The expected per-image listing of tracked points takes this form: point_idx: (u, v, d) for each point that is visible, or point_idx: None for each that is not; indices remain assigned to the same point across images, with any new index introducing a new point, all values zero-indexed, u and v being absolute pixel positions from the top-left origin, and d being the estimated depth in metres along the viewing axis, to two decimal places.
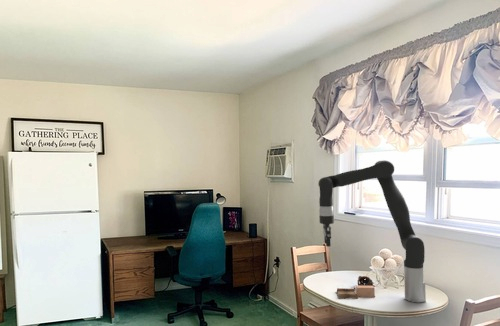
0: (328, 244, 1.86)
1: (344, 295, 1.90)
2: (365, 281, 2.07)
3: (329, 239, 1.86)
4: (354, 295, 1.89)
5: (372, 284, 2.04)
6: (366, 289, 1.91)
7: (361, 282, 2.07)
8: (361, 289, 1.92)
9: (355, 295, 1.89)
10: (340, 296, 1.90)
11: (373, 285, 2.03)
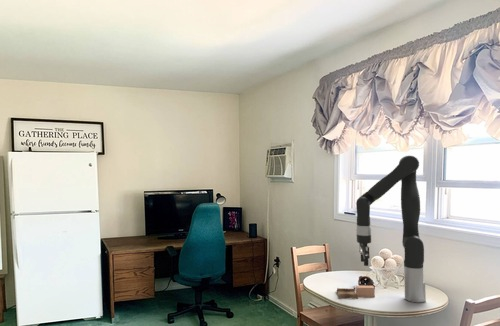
0: (366, 263, 1.88)
1: (344, 295, 1.90)
2: (366, 281, 2.07)
3: (367, 259, 1.88)
4: (354, 295, 1.89)
5: (373, 284, 2.04)
6: (366, 289, 1.91)
7: (362, 282, 2.07)
8: (361, 289, 1.92)
9: (355, 295, 1.89)
10: (340, 296, 1.90)
11: None
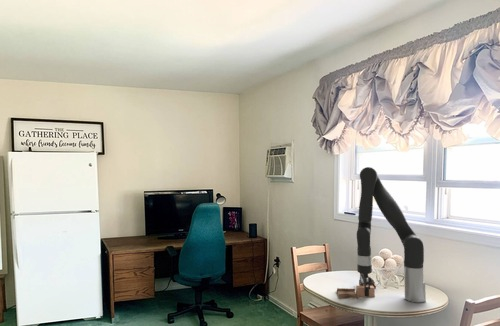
0: (367, 294, 1.88)
1: (344, 295, 1.90)
2: None
3: (368, 289, 1.88)
4: (354, 295, 1.89)
5: (374, 284, 2.04)
6: None
7: None
8: (361, 289, 1.92)
9: (355, 295, 1.89)
10: (340, 296, 1.90)
11: None
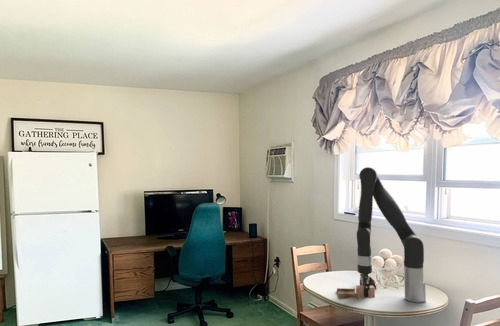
0: (366, 295, 1.90)
1: (344, 295, 1.90)
2: None
3: (367, 290, 1.90)
4: (354, 295, 1.89)
5: (374, 284, 2.04)
6: None
7: None
8: (361, 289, 1.92)
9: (355, 295, 1.89)
10: (340, 296, 1.90)
11: (375, 285, 2.03)
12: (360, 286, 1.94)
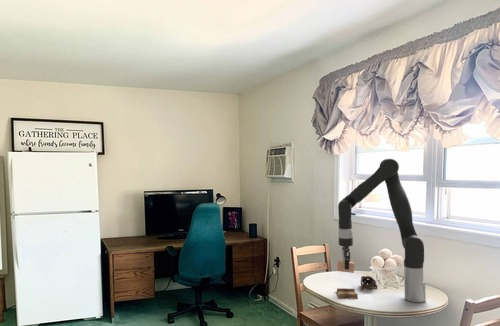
0: (347, 267, 1.92)
1: (344, 295, 1.90)
2: (368, 281, 2.07)
3: (348, 262, 1.91)
4: (354, 295, 1.89)
5: (375, 284, 2.04)
6: None
7: (364, 282, 2.07)
8: (341, 263, 1.93)
9: (355, 295, 1.89)
10: (340, 296, 1.90)
11: (376, 285, 2.03)
12: (340, 261, 1.95)
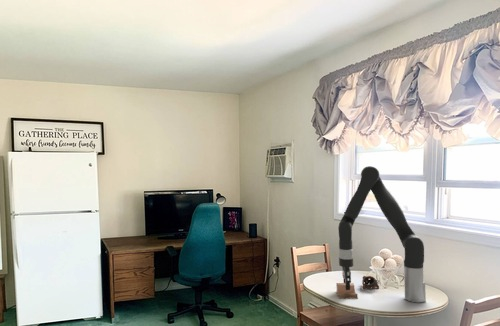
0: (348, 288, 1.90)
1: (344, 295, 1.90)
2: (369, 281, 2.07)
3: (349, 283, 1.90)
4: (354, 295, 1.89)
5: (377, 284, 2.04)
6: None
7: (365, 282, 2.07)
8: (341, 286, 1.93)
9: (355, 295, 1.89)
10: (340, 296, 1.90)
11: (378, 285, 2.03)
12: (340, 284, 1.95)
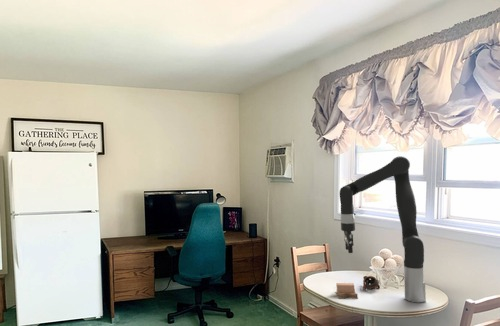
0: (350, 251, 1.92)
1: (344, 295, 1.90)
2: (370, 281, 2.07)
3: (351, 246, 1.92)
4: (354, 295, 1.89)
5: (377, 284, 2.04)
6: (346, 287, 1.93)
7: (366, 282, 2.07)
8: (341, 286, 1.93)
9: (355, 295, 1.89)
10: (340, 296, 1.90)
11: (379, 285, 2.03)
12: (340, 284, 1.95)
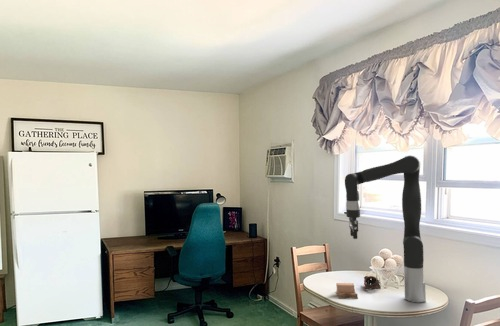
0: (355, 236, 1.96)
1: (344, 295, 1.90)
2: (371, 281, 2.07)
3: (356, 232, 1.96)
4: (354, 295, 1.89)
5: (378, 284, 2.04)
6: (346, 287, 1.93)
7: (367, 282, 2.07)
8: (341, 286, 1.93)
9: (355, 295, 1.89)
10: (340, 296, 1.90)
11: (379, 285, 2.04)
12: (340, 284, 1.95)
